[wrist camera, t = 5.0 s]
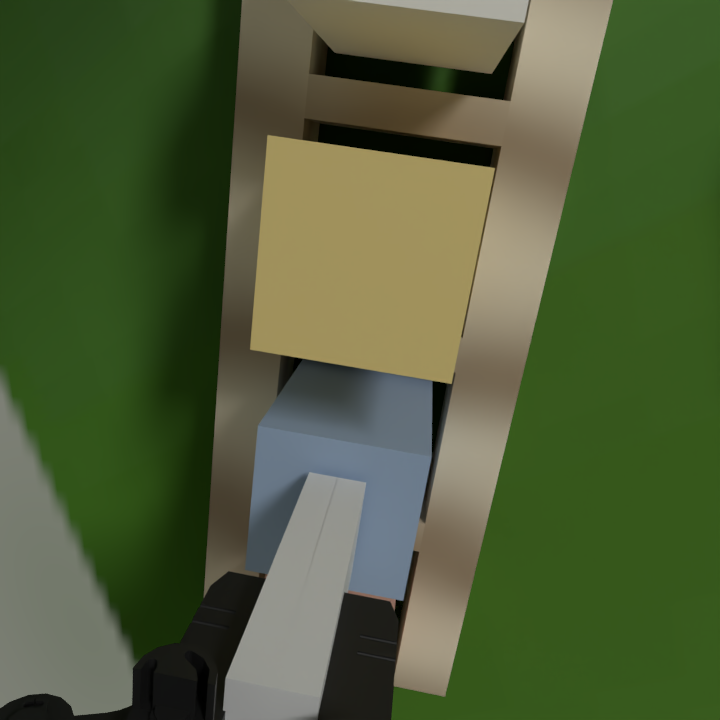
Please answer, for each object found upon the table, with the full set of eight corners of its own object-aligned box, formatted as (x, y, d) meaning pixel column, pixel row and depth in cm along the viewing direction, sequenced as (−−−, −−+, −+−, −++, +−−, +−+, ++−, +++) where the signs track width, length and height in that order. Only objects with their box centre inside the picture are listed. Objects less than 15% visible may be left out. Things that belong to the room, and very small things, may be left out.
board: (279, -162, 18) (255, -211, 15) (623, -123, 17) (654, -170, 15) (221, 603, 27) (200, 646, 24) (443, 648, 26) (444, 696, 24)
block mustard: (324, 145, 18) (267, 135, 12) (473, 166, 18) (494, 167, 12) (308, 290, 19) (250, 349, 13) (446, 313, 19) (451, 383, 13)
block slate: (308, 351, 22) (258, 425, 15) (432, 371, 21) (431, 456, 15) (295, 461, 23) (244, 569, 17) (411, 482, 23) (403, 600, 17)
